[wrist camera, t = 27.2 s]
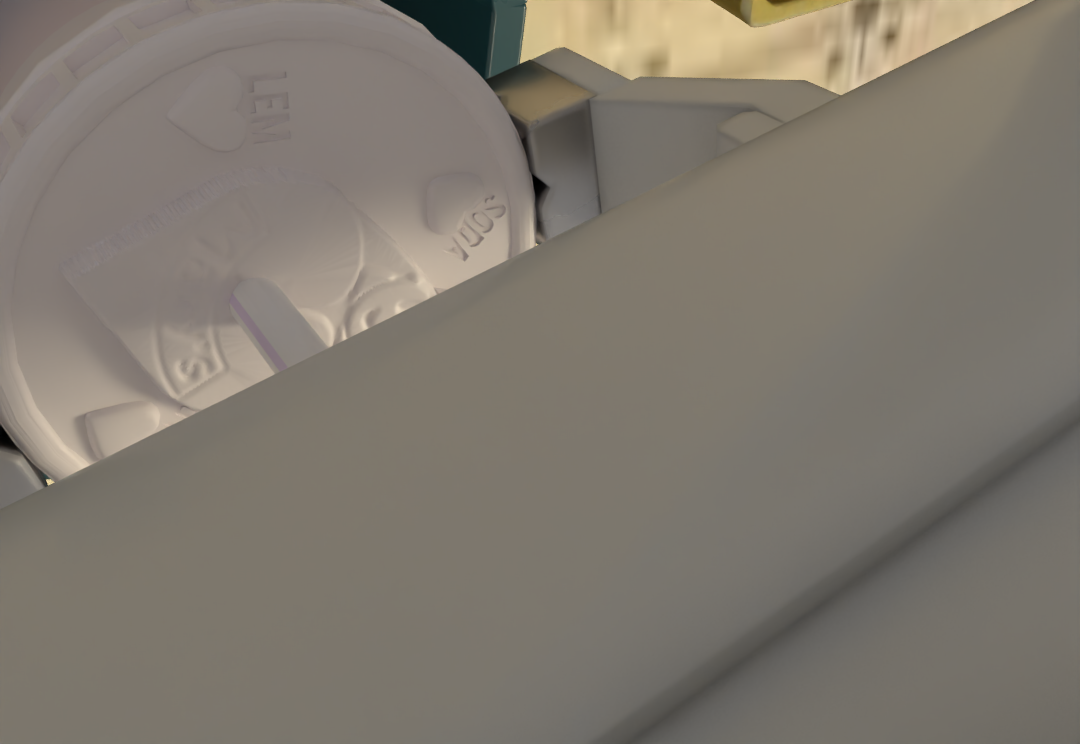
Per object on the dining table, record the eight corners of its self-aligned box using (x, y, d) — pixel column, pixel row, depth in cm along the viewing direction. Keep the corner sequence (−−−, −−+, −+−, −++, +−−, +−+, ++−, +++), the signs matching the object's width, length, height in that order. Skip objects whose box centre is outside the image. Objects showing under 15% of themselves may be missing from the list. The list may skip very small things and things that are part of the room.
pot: (85, 463, 28) (161, 648, 23) (-1119, -372, 12) (-1711, -371, 7) (503, 117, 30) (660, 217, 24) (-93, -990, 14) (-2, -1329, 9)
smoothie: (-98, -239, 14) (241, 37, 5) (309, -70, 18) (915, 250, 9) (-164, 179, 16) (-24, 946, 7) (214, 243, 20) (620, 767, 11)
